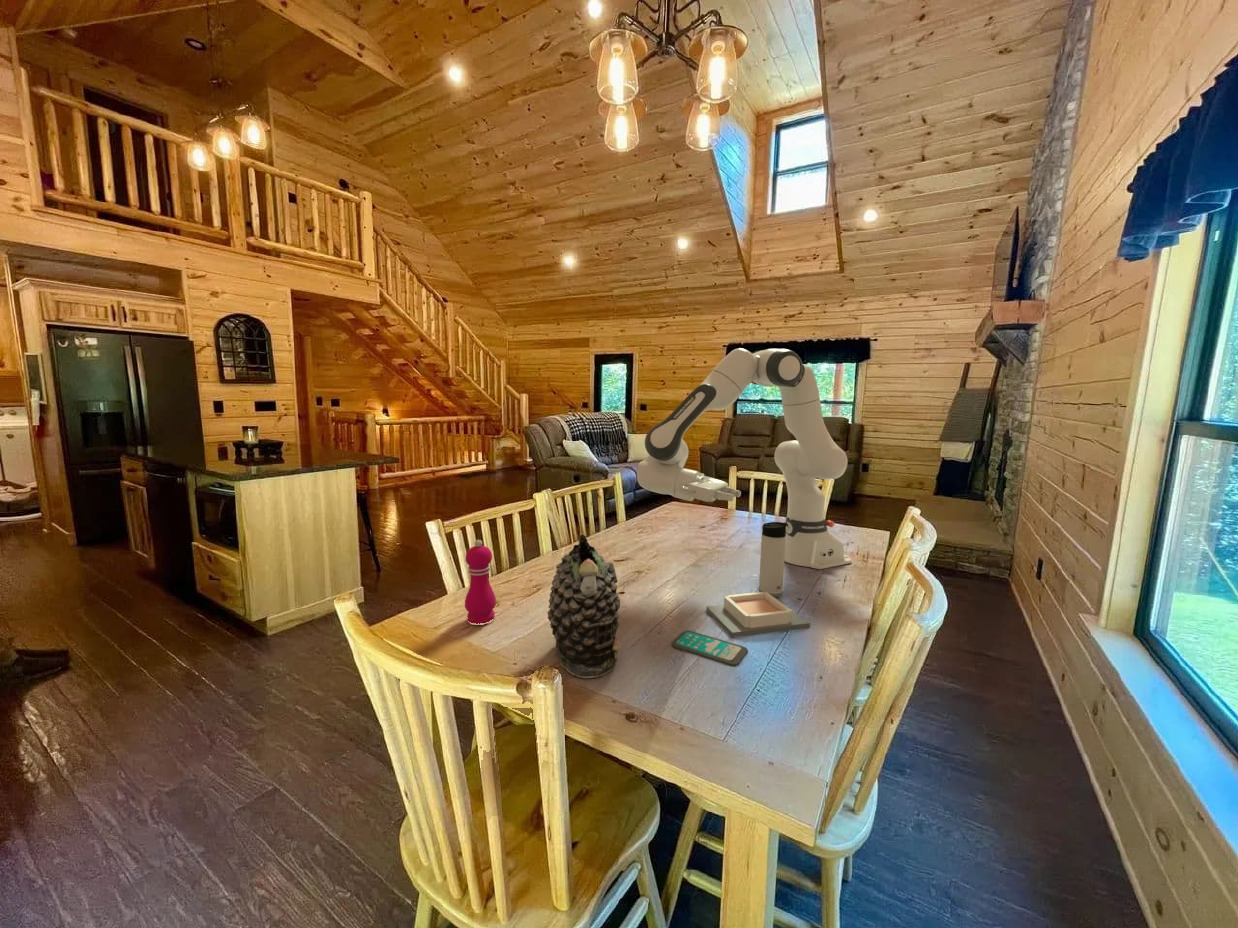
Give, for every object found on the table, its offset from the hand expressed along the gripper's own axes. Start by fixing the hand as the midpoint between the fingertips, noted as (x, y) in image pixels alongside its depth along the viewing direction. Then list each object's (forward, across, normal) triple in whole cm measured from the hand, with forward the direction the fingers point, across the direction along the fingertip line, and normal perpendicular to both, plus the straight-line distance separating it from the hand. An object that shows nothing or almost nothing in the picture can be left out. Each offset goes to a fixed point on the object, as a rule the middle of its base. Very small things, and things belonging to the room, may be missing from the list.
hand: (737, 496), depth 137 cm
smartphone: (+6, -34, +29) cm, 45 cm away
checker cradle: (+13, -16, +26) cm, 33 cm away
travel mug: (+14, +2, +25) cm, 28 cm away
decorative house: (-16, -48, +33) cm, 61 cm away
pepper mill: (-46, -45, +37) cm, 74 cm away
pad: (+13, -16, +25) cm, 32 cm away
